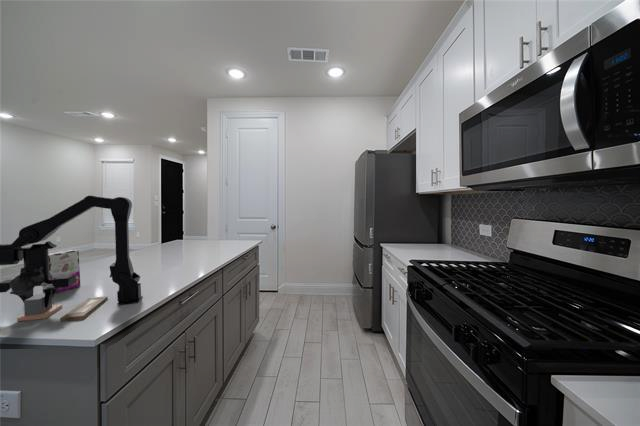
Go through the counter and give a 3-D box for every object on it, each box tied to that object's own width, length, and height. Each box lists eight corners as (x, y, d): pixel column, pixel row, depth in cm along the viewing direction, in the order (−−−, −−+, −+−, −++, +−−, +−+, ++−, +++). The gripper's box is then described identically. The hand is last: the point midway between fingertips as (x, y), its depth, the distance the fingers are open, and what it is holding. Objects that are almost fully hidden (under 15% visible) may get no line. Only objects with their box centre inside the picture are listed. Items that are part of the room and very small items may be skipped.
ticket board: (107, 299, 102) (107, 296, 102) (83, 319, 85) (83, 315, 85) (88, 301, 100) (88, 297, 100) (60, 321, 83) (60, 317, 83)
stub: (62, 307, 94) (61, 290, 94) (45, 318, 85) (44, 300, 85) (36, 310, 92) (36, 293, 91) (17, 321, 83) (16, 302, 83)
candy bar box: (72, 285, 118) (70, 249, 118) (80, 286, 117) (79, 249, 117) (41, 293, 107) (39, 254, 107) (50, 294, 106) (49, 254, 106)
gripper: (-24, 271, 77) (-21, 323, 78) (57, 266, 83) (59, 314, 84) (6, 262, 87) (9, 308, 88) (76, 258, 94) (78, 301, 94)
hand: (38, 308), depth 88 cm, fingers closed on stub, 4 cm apart
